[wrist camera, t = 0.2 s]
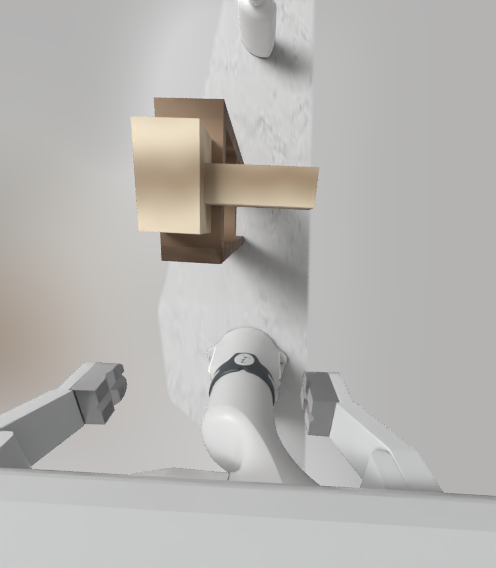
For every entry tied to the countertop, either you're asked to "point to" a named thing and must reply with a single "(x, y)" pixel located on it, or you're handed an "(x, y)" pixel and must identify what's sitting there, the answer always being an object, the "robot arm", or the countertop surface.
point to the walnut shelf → (222, 217)
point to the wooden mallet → (203, 178)
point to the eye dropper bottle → (257, 25)
